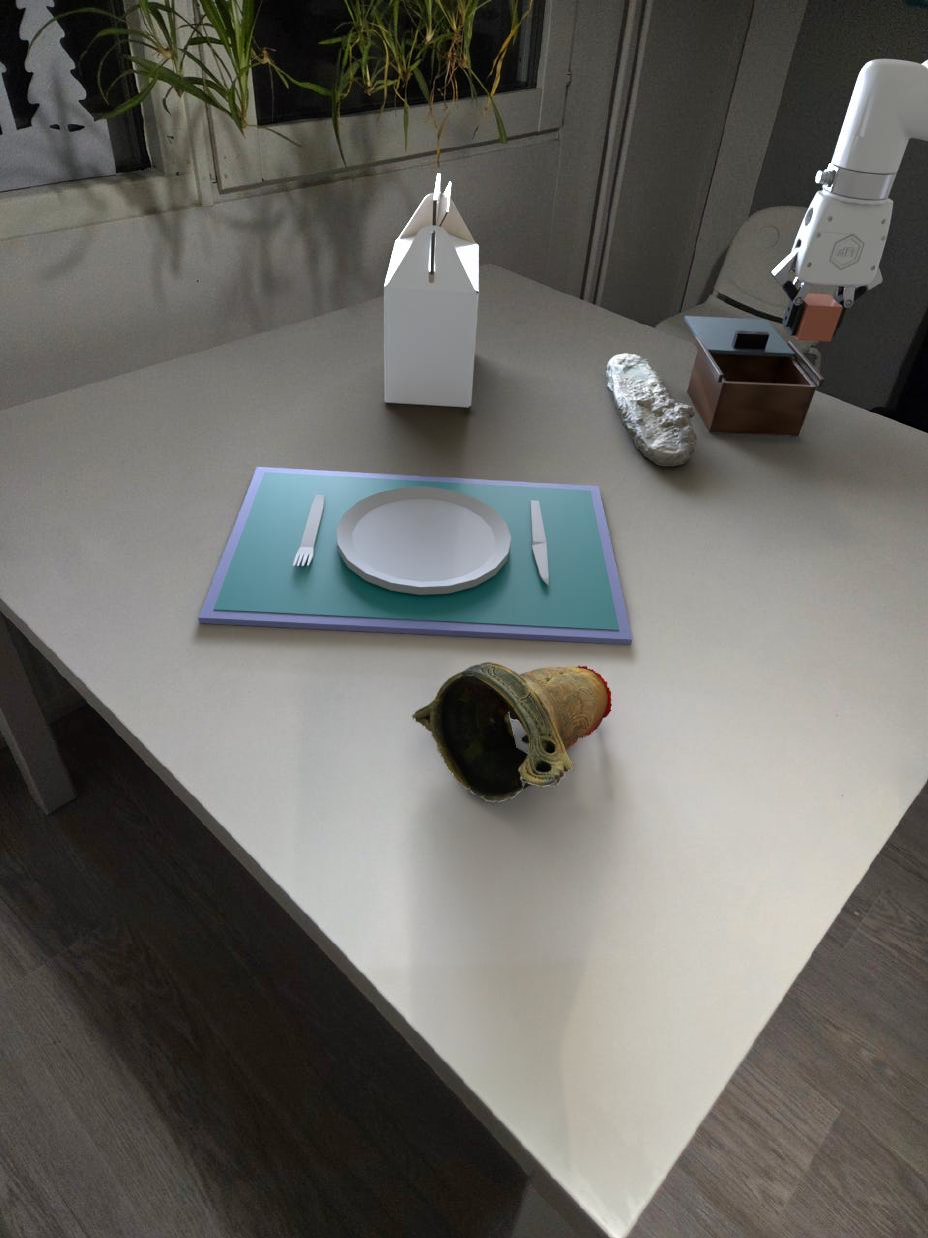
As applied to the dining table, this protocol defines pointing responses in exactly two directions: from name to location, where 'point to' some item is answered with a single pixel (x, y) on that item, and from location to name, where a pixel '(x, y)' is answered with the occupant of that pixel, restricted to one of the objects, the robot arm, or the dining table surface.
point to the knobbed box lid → (739, 336)
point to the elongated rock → (650, 411)
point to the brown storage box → (752, 391)
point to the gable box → (431, 308)
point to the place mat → (420, 558)
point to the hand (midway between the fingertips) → (808, 331)
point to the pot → (482, 731)
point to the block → (818, 318)
